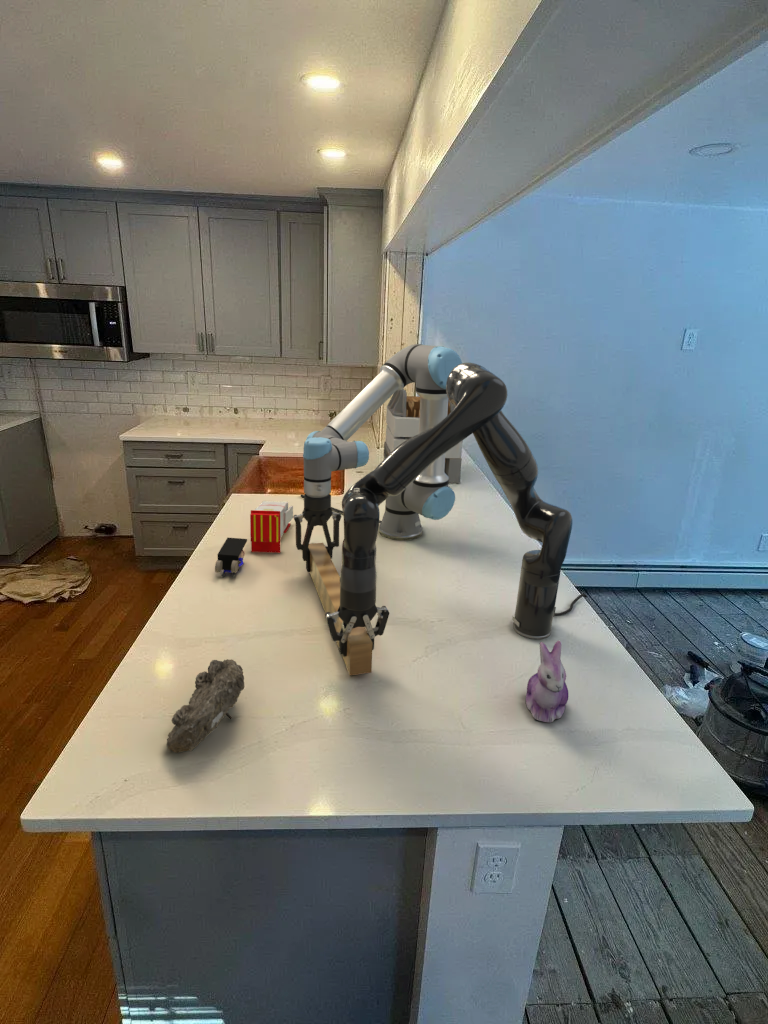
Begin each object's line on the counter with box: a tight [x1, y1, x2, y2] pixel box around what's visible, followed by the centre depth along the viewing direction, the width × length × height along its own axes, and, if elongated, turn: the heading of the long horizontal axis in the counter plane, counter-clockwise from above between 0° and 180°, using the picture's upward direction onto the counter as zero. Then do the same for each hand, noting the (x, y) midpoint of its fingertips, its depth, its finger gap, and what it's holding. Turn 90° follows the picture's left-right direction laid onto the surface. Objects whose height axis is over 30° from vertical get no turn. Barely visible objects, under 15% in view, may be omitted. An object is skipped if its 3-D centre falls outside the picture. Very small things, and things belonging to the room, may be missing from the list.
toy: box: [249, 500, 294, 554], centre depth 191 cm, size 12×13×30 cm
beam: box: [308, 542, 373, 676], centre depth 144 cm, size 55×5×7 cm, turn 17°
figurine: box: [525, 640, 570, 723], centre depth 112 cm, size 9×10×15 cm
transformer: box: [383, 388, 464, 484], centre depth 268 cm, size 34×33×41 cm
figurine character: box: [214, 537, 248, 578], centre depth 166 cm, size 7×8×15 cm
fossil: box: [166, 658, 245, 754], centre depth 106 cm, size 22×10×15 cm
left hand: (317, 569), depth 166 cm, fingers closed on beam, 5 cm apart
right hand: (356, 652), depth 123 cm, fingers closed on beam, 4 cm apart
